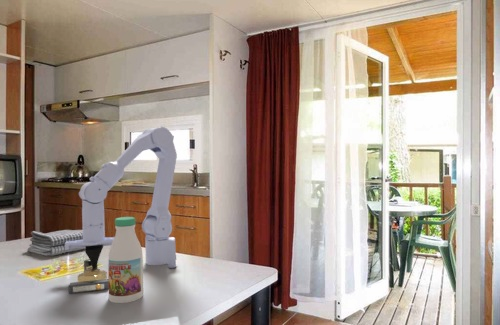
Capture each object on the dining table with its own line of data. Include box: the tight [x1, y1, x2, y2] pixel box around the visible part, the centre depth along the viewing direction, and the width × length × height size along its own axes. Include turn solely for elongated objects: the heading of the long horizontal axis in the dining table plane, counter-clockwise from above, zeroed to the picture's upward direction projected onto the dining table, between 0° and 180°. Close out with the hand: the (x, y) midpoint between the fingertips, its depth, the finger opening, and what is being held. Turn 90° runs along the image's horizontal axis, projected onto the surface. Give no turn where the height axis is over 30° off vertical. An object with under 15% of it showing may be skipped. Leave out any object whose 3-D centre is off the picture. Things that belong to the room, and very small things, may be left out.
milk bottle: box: [107, 216, 144, 304], centre depth 82 cm, size 8×8×20 cm
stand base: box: [68, 278, 109, 295], centre depth 92 cm, size 16×16×3 cm
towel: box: [27, 229, 86, 257], centre depth 133 cm, size 15×18×8 cm
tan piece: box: [77, 258, 108, 282], centre depth 94 cm, size 15×7×4 cm, turn 30°
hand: (94, 272), depth 98 cm, fingers closed, pressing on tan piece
